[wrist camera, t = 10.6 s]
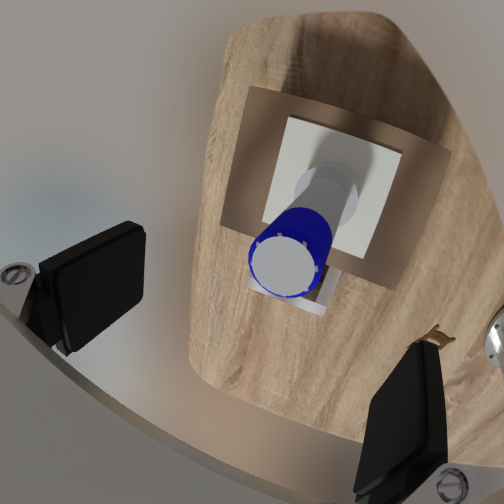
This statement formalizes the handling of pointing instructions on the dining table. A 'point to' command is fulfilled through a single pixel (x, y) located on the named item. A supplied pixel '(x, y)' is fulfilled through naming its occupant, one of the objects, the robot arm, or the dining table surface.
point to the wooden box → (394, 211)
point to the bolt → (304, 231)
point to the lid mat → (347, 154)
